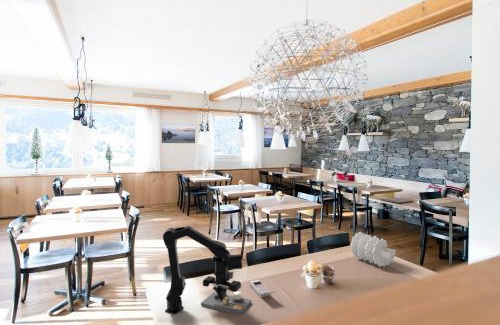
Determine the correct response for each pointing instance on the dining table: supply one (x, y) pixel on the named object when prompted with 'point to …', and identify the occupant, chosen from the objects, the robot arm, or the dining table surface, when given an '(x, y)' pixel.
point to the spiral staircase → (372, 249)
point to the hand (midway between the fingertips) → (222, 300)
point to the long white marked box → (260, 288)
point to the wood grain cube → (225, 301)
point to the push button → (237, 295)
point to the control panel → (232, 307)
